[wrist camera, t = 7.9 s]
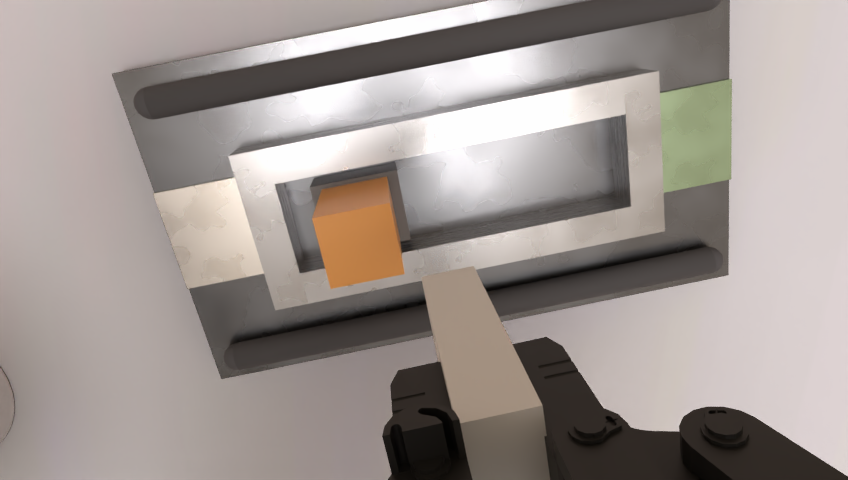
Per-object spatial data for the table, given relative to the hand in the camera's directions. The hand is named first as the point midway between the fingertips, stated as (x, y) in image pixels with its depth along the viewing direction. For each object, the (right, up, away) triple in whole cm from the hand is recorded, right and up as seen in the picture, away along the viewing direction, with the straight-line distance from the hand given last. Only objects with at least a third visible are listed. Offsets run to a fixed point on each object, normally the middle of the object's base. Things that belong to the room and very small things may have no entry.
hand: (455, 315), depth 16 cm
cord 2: (-1, +11, +10) cm, 14 cm away
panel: (0, +5, +13) cm, 14 cm away
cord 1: (+2, -1, +14) cm, 14 cm away
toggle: (-4, +4, +12) cm, 13 cm away
